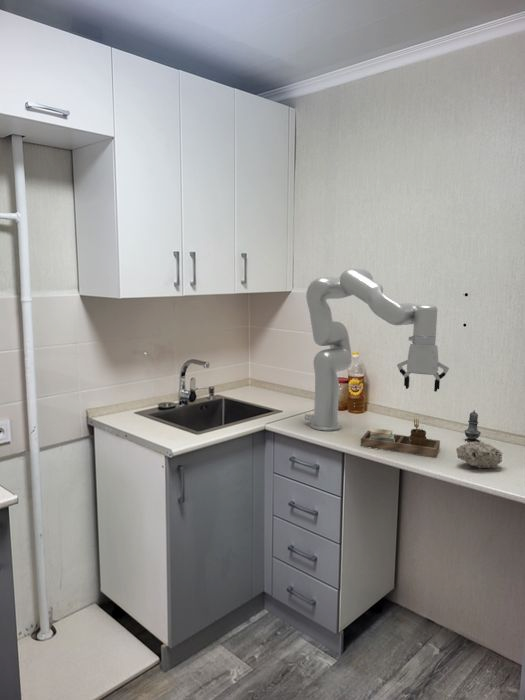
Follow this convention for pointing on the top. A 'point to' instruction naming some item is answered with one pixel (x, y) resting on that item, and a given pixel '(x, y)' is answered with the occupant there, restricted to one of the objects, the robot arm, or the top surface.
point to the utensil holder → (418, 436)
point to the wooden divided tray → (402, 445)
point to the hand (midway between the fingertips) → (421, 389)
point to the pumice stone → (480, 455)
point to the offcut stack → (382, 435)
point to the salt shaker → (472, 428)
